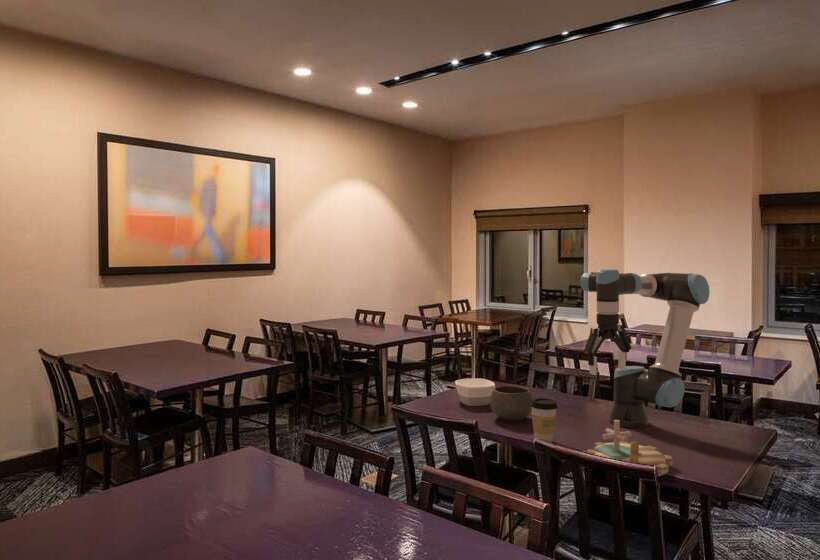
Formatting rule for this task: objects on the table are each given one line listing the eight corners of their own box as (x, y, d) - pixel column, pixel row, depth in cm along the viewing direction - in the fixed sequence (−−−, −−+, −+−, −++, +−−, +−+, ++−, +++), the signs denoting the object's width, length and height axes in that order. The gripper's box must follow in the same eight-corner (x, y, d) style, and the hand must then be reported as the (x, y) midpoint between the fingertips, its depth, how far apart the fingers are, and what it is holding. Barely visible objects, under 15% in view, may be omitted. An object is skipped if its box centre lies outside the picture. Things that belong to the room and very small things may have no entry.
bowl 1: (449, 399, 265) (449, 379, 265) (484, 396, 270) (484, 377, 270) (464, 409, 248) (464, 388, 248) (500, 406, 253) (501, 385, 253)
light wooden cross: (612, 456, 181) (612, 426, 181) (594, 446, 191) (594, 417, 190) (639, 453, 184) (639, 423, 183) (620, 443, 193) (620, 415, 193)
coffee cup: (557, 446, 201) (558, 405, 200) (529, 444, 203) (530, 403, 202) (556, 437, 210) (557, 398, 210) (529, 435, 212) (530, 396, 212)
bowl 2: (480, 418, 235) (481, 388, 234) (508, 410, 247) (508, 381, 246) (515, 428, 221) (515, 396, 221) (541, 419, 233) (542, 389, 233)
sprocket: (584, 443, 200) (584, 418, 200) (662, 449, 195) (662, 424, 194) (591, 471, 175) (592, 443, 174) (681, 479, 169) (682, 449, 169)
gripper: (625, 309, 207) (625, 365, 209) (572, 314, 197) (573, 374, 198) (641, 311, 200) (641, 369, 202) (587, 316, 190) (588, 378, 191)
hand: (607, 372), depth 200 cm, fingers open, 13 cm apart
